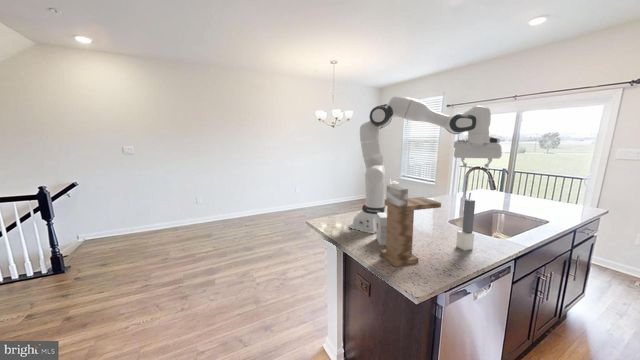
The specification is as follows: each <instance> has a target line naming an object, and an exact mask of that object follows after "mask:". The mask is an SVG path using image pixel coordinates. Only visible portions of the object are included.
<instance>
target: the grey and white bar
mask: <svg viewBox="0 0 640 360" xmlns="http://www.w3.org/2000/svg"><path fill="white" fill-rule="evenodd" d="M475 207H476V200H474V199H471V198H469V199H464V207H463V218H462V219H463V220H462V230H458V231H457V233H456V244H455V245H456V247H457V248H459V249H461V250H462V251H464V252H465V251H469V250H474V241H475V233H473V229H474V219H475Z"/></svg>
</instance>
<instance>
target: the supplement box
mask: <svg viewBox="0 0 640 360" xmlns="http://www.w3.org/2000/svg"><path fill="white" fill-rule="evenodd" d="M386 236H387V212H385V213H381V212H380V213H377V232H376V241H377V243H378V245H379V246H386Z"/></svg>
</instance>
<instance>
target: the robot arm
mask: <svg viewBox="0 0 640 360" xmlns="http://www.w3.org/2000/svg"><path fill="white" fill-rule="evenodd" d="M491 112H492V111H491V109H490V108H489V107H487V106H484V105H474V106H472V107H470V108H469V109H467V110H465V111H463V112H460V113H457V114H455V115H447V114H444V113H440V112H437V111H434V110H433V109H431V108H430V107H429V106H428V105H427V104H426V103H425V102H424V101H422V100H419V99H417V98H413V97H410V96H405V95H394V96H391V98H390V100H389V101H388V103H385V104H381V105H378V106H377V105H376V106H375V107H373V108H372V109H371V111H369V121H366V122H363V123H362V124H361V125H360V126H359V141H360V148H361V153H362V157H363V161H364V165H365V170H366V171H365V173H364V177H365V178H364V181H365V182H364V183H365V185H364V186H365V203H364V204H363V205H362V207H361V210H362V211H360V212H359V213H356V214H355V216H354V217H353V218H352V221H351V222H350V223H349V226H348V228H349V227H350V228H352V229H351V230H354V229H356V230H355V231H358V230H360V232H363V231H364V232H363V233H368V234H374V233H377V213H380V212H381V213H386V206H385V200H386V199H385V198H386V197H385V195H386V192H385V191H386V190H385V189H386V188H385V184H386V167H385V162H384V157H383V151H382V145H381V138H380V130H381V129H383V128H385V127H387V126H388V125H389V124H390V123H391V122H392V119H393V118H395V117H396V118H397V117H398V118H402V119H405V120H407V121H412V122H424V123H429V124H433V125H435V126H439V127H440V128H441V127H442V128H444V129H445V130H446V131H447V132H449V134H452V135H459V134H462V133H464V132H467V133H468V135H467V139H457V140H455V141H454V142H453V148H454V151H453V157H454V158H456V159H460V161H461V162H462V167H463V168H467V165H468V163H467V162H466V163H465V159H487V161H488V162H487V163H484V165H483V166H484V168H489V167H490V166H489V165H490V164H491V163H492V161H493V159H496V160H497V159H501V157H502V154H503V153H502V152H503V151H502V146H501V144H500V143H501V139H500V138H497V137H494V136H491V135H490V125H491V120H492V119H491V118H492V117H491V115H492V114H491ZM350 228H349V229H350Z"/></svg>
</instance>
